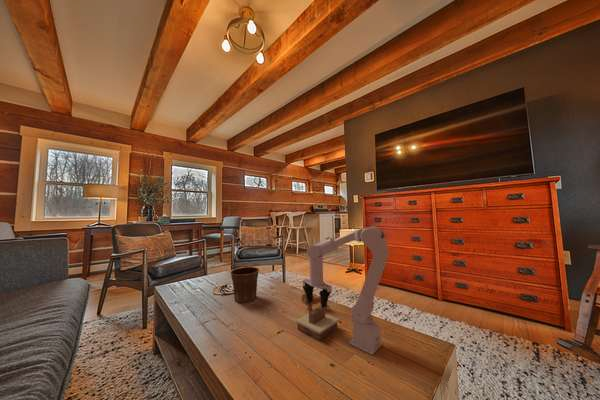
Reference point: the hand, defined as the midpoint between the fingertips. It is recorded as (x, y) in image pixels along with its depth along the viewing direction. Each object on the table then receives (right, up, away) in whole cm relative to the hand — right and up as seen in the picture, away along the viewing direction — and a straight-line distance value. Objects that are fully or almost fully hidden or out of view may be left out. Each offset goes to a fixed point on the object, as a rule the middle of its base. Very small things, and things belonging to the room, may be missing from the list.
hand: (317, 304), depth 91 cm
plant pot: (-39, -13, +32) cm, 52 cm away
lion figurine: (0, -11, +16) cm, 20 cm away
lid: (0, -7, 0) cm, 7 cm away
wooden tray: (0, -10, -1) cm, 10 cm away
